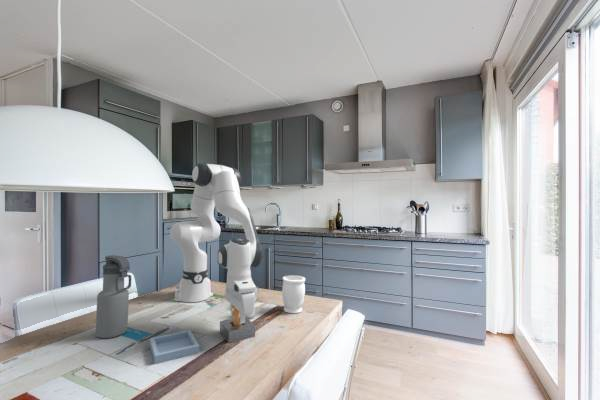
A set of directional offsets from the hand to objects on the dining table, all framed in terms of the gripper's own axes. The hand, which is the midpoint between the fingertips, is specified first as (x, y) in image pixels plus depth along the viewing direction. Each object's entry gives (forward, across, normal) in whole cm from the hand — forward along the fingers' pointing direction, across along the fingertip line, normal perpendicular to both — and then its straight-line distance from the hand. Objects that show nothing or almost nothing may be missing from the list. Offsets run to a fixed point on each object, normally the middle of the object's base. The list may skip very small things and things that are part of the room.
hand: (237, 318), depth 108 cm
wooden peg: (+6, 0, 0) cm, 6 cm away
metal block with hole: (+6, 0, 0) cm, 6 cm away
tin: (+6, -26, +17) cm, 32 cm away
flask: (+6, -14, +10) cm, 18 cm away
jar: (+6, -10, +31) cm, 33 cm away
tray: (+6, 0, -22) cm, 23 cm away
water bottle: (+6, -23, -39) cm, 46 cm away
